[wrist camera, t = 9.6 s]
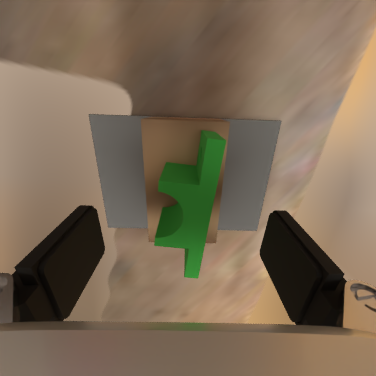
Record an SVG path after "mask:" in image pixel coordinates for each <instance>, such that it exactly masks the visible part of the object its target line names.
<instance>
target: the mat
mask: <svg viewBox="0 0 376 376" xmlns="http://www.w3.org/2000/svg"><path fill="white" fill-rule="evenodd" d="M148 117H157V116H127V115H98V114H97V115H96V114H89V119H90V125H91V131H92V137H93V142H94V148H95V154H96V160H97V166H98V171H99V177H100V183H101V188H102V194H103V200H104V206H105V212H106V218H107V223H108V227H110V228H111V227H113V228H148V219H147V204H146V190H145V175H144V161H143V146H142V131H141V119H143V118H148ZM178 118H186V117H178ZM208 119H215V118H208ZM222 120H225V121H229V122H230V127H229V135H228V144H227V152H226V161H225V169H224V178H223V186H222V195H221V204H220V212H219V221H218V229H217V230H243V231H257V228H258V223H259V219H260V214H261V210H262V205H263V201H264V196H265V192H266V187H267V183H268V179H269V174H270V170H271V165H272V161H273V156H274V152H275V147H276V143H277V138H278V134H279V129H280V125H281V121H273V120H244V119H222Z"/></svg>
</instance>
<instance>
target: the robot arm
mask: <svg viewBox="0 0 376 376" xmlns="http://www.w3.org/2000/svg"><path fill="white" fill-rule="evenodd" d="M104 251H105V246H104V241H103V237H102V232H101V227H100V223H99V218H98V213H97V210H96V209H95V208H94V207H93V206H85V205H84V206H83V205H81V206H79V207H77V208H76V209H75V210H74V211H73V212H72V213H71V214H70V215H69V216H68V217H67V218H66V219H65V220H64V221H63V222H62V223H61V224H60V225H59V226H58V227H56V228H55V229H54V230H53V231H52V232H51V233H50V234H49V235H48V236H47V237H46V238H45V239H44V240H43V241H42V242H41V243H40V244H39V245H38V246H36V247H35V248H34V249H33V250H32V251H31V252H30V253H29V254H28V255H27V256H26V257H25V258H24V259H23V260H22V261H21V262H20V263H19V264H17V265H16V266H15V269H16V271H15V272H14V273H13V274H12V275H10V274H8V273H0V376H376V287H374V286H372V285H370V284H368V283H365V282H363V281H359V280H349V281H346V280H345V279H344V278H343V276H344V273H343V272H342V271H341V270H340V269H339V267H338V266H336V264H335V263H334V262H333V261H332V260H331V259H330V258H329V257H328V255H326V253H325V252H324V251H323V250H322V249H321V248H320V247H319V246H318V245H317V244H316V243H315V241H314V240H313V239H312V238H311V237H310V236H309V235H308V234H307V233H306V232H305V231H304V229H303V228H302V227H301V226H300V225H299V224H298V223H297V222H296V221H295V220H294V219H293V217H292V216H291V215H290V214H289V213H288V212H287V211H277V210H275V211H273V213H270V215H269V218H268V222H267V226H266V230H265V233H264V237H263V241H262V245H261V248H260V257H261V259H262V261H263V263H264V265H265V267H266V269H267V271H268V274H269V276H270V278H271V280H272V282H273V284H274V286H275V288H276V290H277V292H278V294H279V297H280V299H281V301H282V303H283V305H284V307H285V309H286V311H287V313H288V316H289V318H290V319H291V320H292V322H295V324H296V325H283V324H278V325H277V324H236V323H180V322H95V321H94V322H92V321H63V320H64V319H66V318H67V317H68V316H69V315H70V313H71V311H72V310H73V308H74V306H75V304H76V302H77V301H78V299H79V297H80V295H81V293H82V292H83V290H84V288H85V286H86V284H87V283H88V281H89V279H90V277H91V276H92V274H93V272H94V270H95V268H96V266H97V265H98V263H99V261H100V259H101V258H102V256H103V254H104Z"/></svg>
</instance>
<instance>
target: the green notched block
mask: <svg viewBox="0 0 376 376" xmlns="http://www.w3.org/2000/svg"><path fill="white" fill-rule="evenodd" d="M225 145H226V140H225V139H224V138H223V137H221V136H220V135H219V134H217V133H216V132H213V131H205V130H201V137H200V144H199V150H198V157H197V164H196V166H195V165H187V164H178V163H170V162H166V164H165V166H164V169H163V171H162V174H161V176H160V179H159V183H158V192H163V193H166V194H168V195H170V196H172V197H173V198H174V199H176V200H177V201H178V203H177V204H176V205H174V206H171V207H162V211H161V215H160V219H159V223H158V227H157V231H156V235H155V244H154V246H163V247H174V248H184V249H185V271H184V277H188V278H198V275H199V271H200V266H201V261H202V256H203V251H204V246H205V242H206V237H207V232H208V227H209V222H210V218H211V213H212V208H213V203H214V198H215V193H216V189H217V184H218V179H219V174H220V169H221V164H222V160H223V155H224V150H225Z"/></svg>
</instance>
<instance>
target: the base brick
mask: <svg viewBox="0 0 376 376" xmlns="http://www.w3.org/2000/svg"><path fill="white" fill-rule="evenodd" d="M229 127H230V122H229V121H225V120H222V119H208V118H178V117H148V118H143V119H141V131H142V146H143V161H144V175H145V190H146V204H147V219H148V234H149V242H155V235H156V231H157V227H158V223H159V219H160V215H161V211H162V207H171V206H174V205H176V204H177V203H178V201H177V200H176V199H174V198H173V197H172V196H170V195H168V194H166V193H163V192H158V183H159V179H160V176H161V174H162V171H163V169H164V166H165V164H166V162H170V163H178V164H187V165H195V166H196V164H197V157H198V150H199V144H200V137H201V130H205V131H213V132H216V133H217V134H219V135H220V136H221V137H223V138H224V139H225V140H226V145H225V150H224V155H223V160H222V164H221V169H220V174H219V179H218V184H217V189H216V193H215V198H214V203H213V208H212V213H211V218H210V222H209V227H208V232H207V237H206V242H205V243H216V238H217V229H218V221H219V212H220V204H221V195H222V186H223V178H224V169H225V161H226V152H227V144H228V135H229Z"/></svg>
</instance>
